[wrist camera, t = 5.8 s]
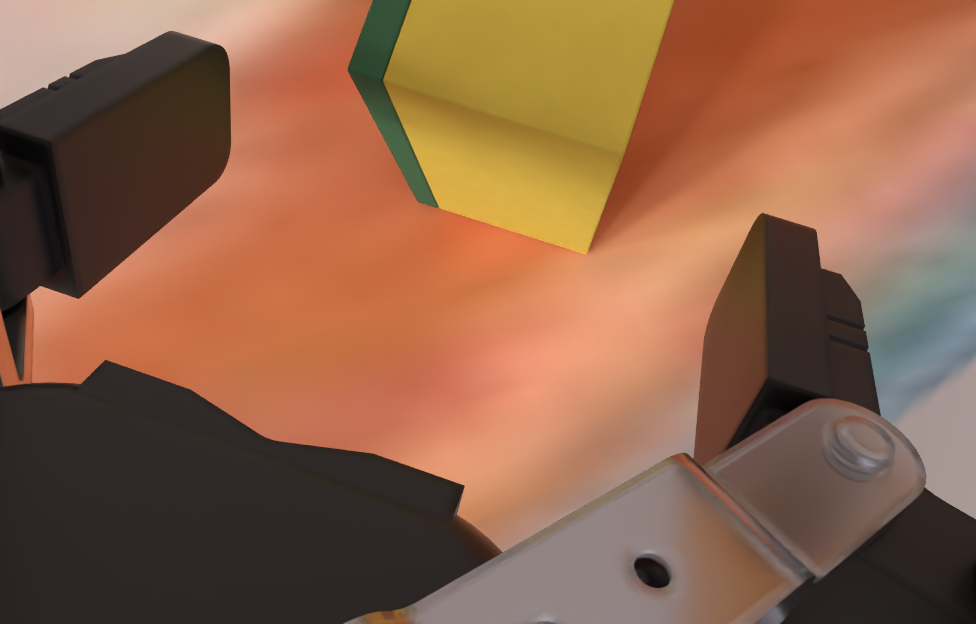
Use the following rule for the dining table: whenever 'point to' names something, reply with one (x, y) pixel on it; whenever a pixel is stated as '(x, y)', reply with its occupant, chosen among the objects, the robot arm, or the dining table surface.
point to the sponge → (510, 103)
